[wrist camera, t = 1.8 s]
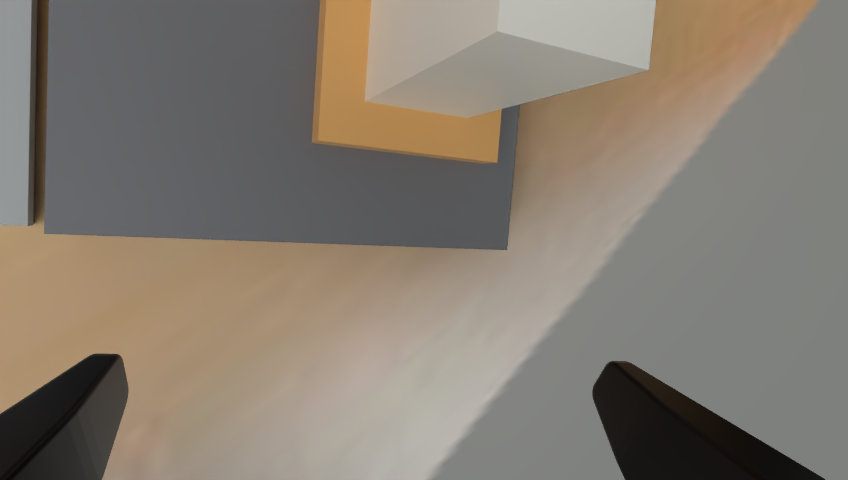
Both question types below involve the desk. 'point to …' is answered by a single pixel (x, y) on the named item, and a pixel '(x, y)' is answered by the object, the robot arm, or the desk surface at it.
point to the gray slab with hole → (235, 136)
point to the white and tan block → (462, 67)
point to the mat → (17, 110)
